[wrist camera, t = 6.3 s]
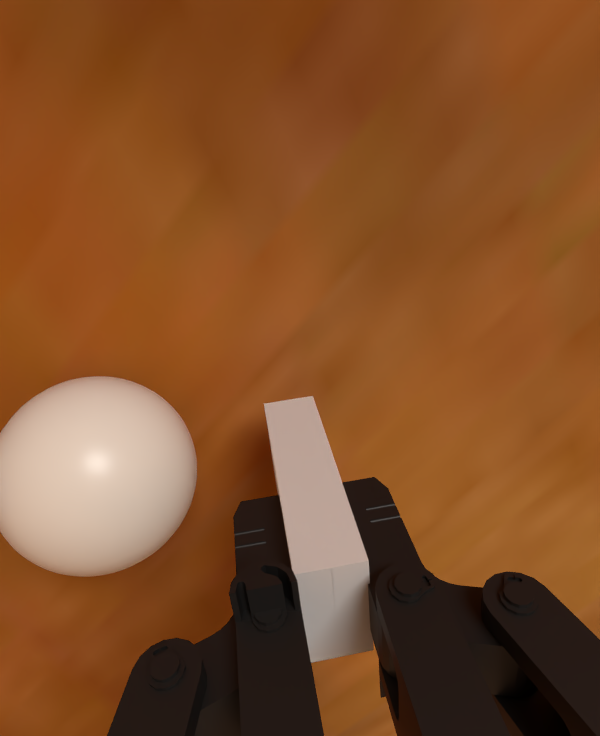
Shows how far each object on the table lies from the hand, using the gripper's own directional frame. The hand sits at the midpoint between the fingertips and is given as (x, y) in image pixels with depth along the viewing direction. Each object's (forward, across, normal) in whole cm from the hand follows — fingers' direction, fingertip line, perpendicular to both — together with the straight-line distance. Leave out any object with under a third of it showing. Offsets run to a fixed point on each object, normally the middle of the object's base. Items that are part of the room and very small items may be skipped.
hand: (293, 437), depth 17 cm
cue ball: (-1, +6, 0) cm, 6 cm away
